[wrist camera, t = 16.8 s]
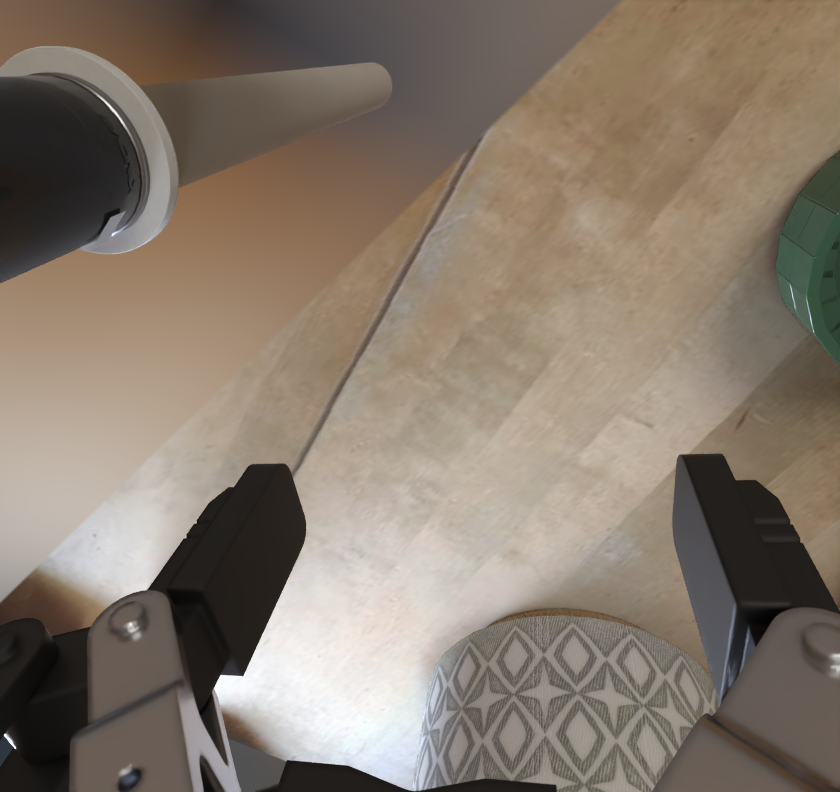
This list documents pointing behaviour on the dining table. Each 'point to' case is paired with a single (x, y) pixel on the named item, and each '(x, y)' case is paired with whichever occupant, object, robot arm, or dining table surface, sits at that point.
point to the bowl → (814, 258)
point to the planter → (560, 704)
